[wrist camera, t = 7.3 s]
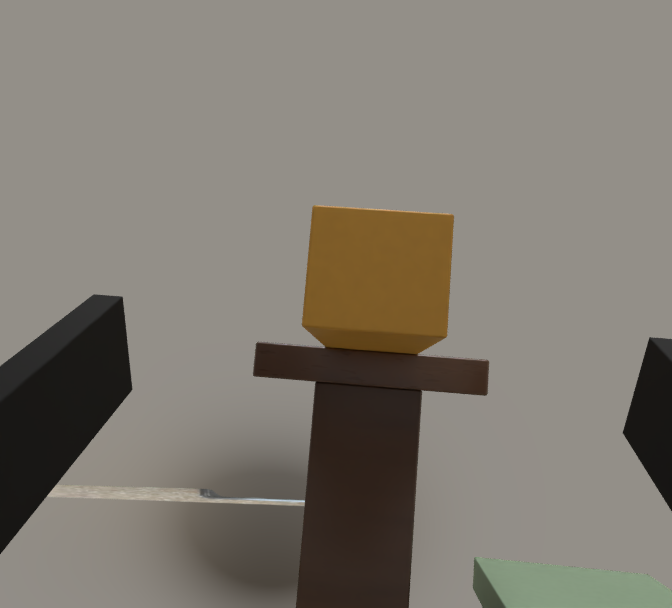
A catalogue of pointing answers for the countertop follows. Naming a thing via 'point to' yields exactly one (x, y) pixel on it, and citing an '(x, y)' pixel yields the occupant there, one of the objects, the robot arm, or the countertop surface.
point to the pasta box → (378, 278)
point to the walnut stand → (363, 465)
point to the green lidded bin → (563, 587)
